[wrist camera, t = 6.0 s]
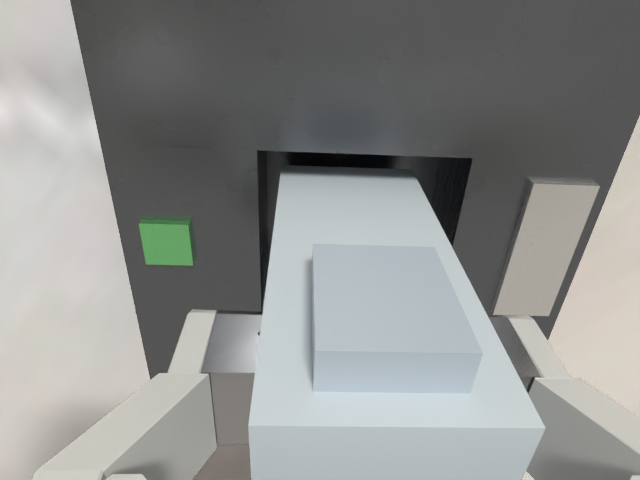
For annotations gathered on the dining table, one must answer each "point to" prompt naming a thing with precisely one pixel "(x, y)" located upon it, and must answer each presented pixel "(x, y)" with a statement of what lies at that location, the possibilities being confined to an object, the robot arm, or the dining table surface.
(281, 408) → the plug
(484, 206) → the panel
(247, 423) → the robot arm
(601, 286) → the dining table surface
